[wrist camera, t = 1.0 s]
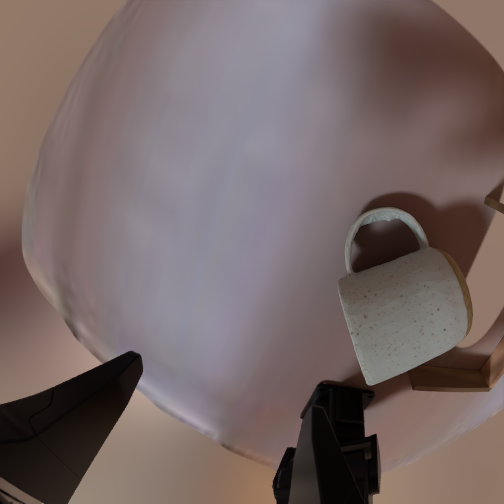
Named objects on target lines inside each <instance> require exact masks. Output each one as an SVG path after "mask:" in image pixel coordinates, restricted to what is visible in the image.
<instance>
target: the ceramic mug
mask: <svg viewBox="0 0 504 504" xmlns="http://www.w3.org/2000/svg"><path fill="white" fill-rule="evenodd" d="M394 218H396V219H401V220H402V221H403V222H405V223H406V224H407V225H408V226H409V227H410V229H411V230H412V231H413V233H414V235H415V237H416V238H417V240H418V243H419V246H420V249H419V250H418V251H416V252H413V253H409V254H407V255H405V256H402V257H399V258H397V259H396V260H393V261H390V262H387V263H384V264H381V265H378V266H375V267H372V268H370V269H365V270H363V271H361V272H357V273H354V271H353V270H352V264H351V249H352V242H353V240H354V237H355V234H356V233H357V232H358V229H359V228H360V227H361V226H363V225H366V224H369V223H372V222H376V221H381V220H387V221H391V220H393V219H394ZM345 263H346V269H347V276H346V277H344V278H341V279H340V280H339V281H338V283H337V286H338V292H339V296H340V301H341V304H342V307H343V311H344V315H345V318H346V322H347V325H348V328H349V332H350V335H351V338H352V341H353V345H354V348H355V351H356V354H357V358H358V361H359V364H360V366H361V370H362V372H363V375H364V378H365V380H366V383H367V384H368V385H371V386H372V385H375V384H377V383H380V382H382V381H385V380H387V379H390V378H392V377H394V376H397V375H399V374H401V373H404V372H406V371H408V370H410V369H412V368H415V367H417V366H419V365H421V364H423V363H425V362H427V361H429V360H431V359H432V358H435V357H437V356H439V355H441V354H443V353H445V352H446V351H448V350H450V349H452V348H453V347H454V346H456V345H457V344H458V343H459V342H461V341H462V340H463V339H464V338H465V337H466V336H467V335H468V333H469V331H470V329H471V325H472V316H473V311H472V303H471V298H470V293H469V289H468V286H467V283H466V281H465V278H464V275H463V273H462V272H461V270H460V268H459V266H458V264H457V263H456V261H455V260H454V259H453V258H452V257H451V256H450V255H449V254H448V253H447V252H445V251H444V250H442V249H439V248H431V247H430V246H429V244H428V240H427V238H426V234H425V232H424V231H423V229H422V227H421V225H420V224H419V223H418V222H417V221H416V219H415V218H414V217H413V216H412V215H410V214H408V213H407V212H405V211H403V210H401V209H398V208H394V207H382V208H376V209H373V210H370V211H367V212H366V213H364V214H362V215H360V216H359V217H358V218H357V219H356V221H355V222H354V223H353V224H352V226H351V228H350V230H349V233H348V236H347V239H346V244H345Z"/></svg>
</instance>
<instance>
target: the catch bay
mask: <svg viewBox="0 0 504 504" xmlns="http://www.w3.org/2000/svg"><path fill="white" fill-rule="evenodd" d="M484 204H486V205H488V206H490V207H492V208H493V209H495V210H497V211H499V212H501V213H503V214H504V204H502V203H500V202H497V201H495V200H493V199H490V198H488V197H486V199H485V203H484ZM503 373H504V336H503V338H502V340H501V341H500V343H499V344H498V346H497V347H496V349H495V350H494V352H493V353H492V355H491V356H490V358H489V359H488V361H487V362H486V363H485V365H484V366H483V367H482V369H481V370H469V369H455V368H443V367H433V366H423V365H419V366H417V367H415V368H412V369H410V370H408V374H409V378H410V381H411V385H412V389H413V390H418V391H438V392H488V391H490V389H491V388H492V387H493V386H494V385H495V383H496V382H497V381H498V380H499V378H500V377H501V376H502V374H503Z"/></svg>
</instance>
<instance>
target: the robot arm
mask: <svg viewBox="0 0 504 504" xmlns="http://www.w3.org/2000/svg"><path fill="white" fill-rule="evenodd" d="M142 373H143V364H142V357H141V355H140V354H138V353H136V352H134V351H128V352H126V353H124V354H122V355H120V356H118V357H116V358H114V359H112V360H110V361H108V362H106V363H104V364H102V365H99V366H97V367H95V368H93V369H91V370H89V371H87V372H85V373H83V374H80V375H78V376H76V377H74V378H72V379H70V380H67V381H65V382H63V383H61V384H59V385H56V386H55V387H52V388H50V389H47V390H45V391H43V392H40V393H37V394H35V395H32V396H29V397H26V398H22V399H19V400H16V401H12V402H8V403H4V404H0V504H41V503H44V504H68V502H69V500H70V499H71V497H72V495H73V493H74V492H75V490H76V488H77V487H78V485H79V483H80V481H81V479H82V478H83V476H84V475H85V473H86V471H87V470H88V468H89V466H90V465H91V463H92V461H93V460H94V458H95V456H96V455H97V453H98V451H99V450H100V448H101V447H102V445H103V443H104V442H105V440H106V438H107V437H108V435H109V434H110V432H111V430H112V429H113V427H114V426H115V424H116V422H117V421H118V419H119V418H120V416H121V414H122V413H123V411H124V410H125V408H126V406H127V405H128V402H129V401H130V398H131V396H132V394H133V392H134V390H135V388H136V386H137V384H138V382H139V379H140V377H141V375H142ZM374 397H375V394H374V392H373V391H367V390H359V389H352V388H345V387H339V386H332V385H327V384H319V385H317V387H316V388H315V390H314V392H313V394H312V396H311V397H310V399H309V401H308V403H307V404H306V406H305V408H304V409H303V411H302V413H301V416H300V418H301V419H303V421H302V425H301V430H300V434H299V439H298V443H297V448H293V447H288V448H287V449H286V452H285V454H284V456H283V458H282V461H281V463H280V465H279V468H278V470H277V473H276V475H275V477H274V480H273V485H272V488H273V489H274V490H273V491H274V496H275V499H276V501H277V504H373V495H375V494H379V493H380V479H381V463H380V451H379V445H378V439H377V434H374V435H371V436H369V437H365V427H364V422H365V421H364V410H365V409H366V407H367V406H368V405H369V404H370V402H371V401H372V400H373V398H374Z"/></svg>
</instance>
